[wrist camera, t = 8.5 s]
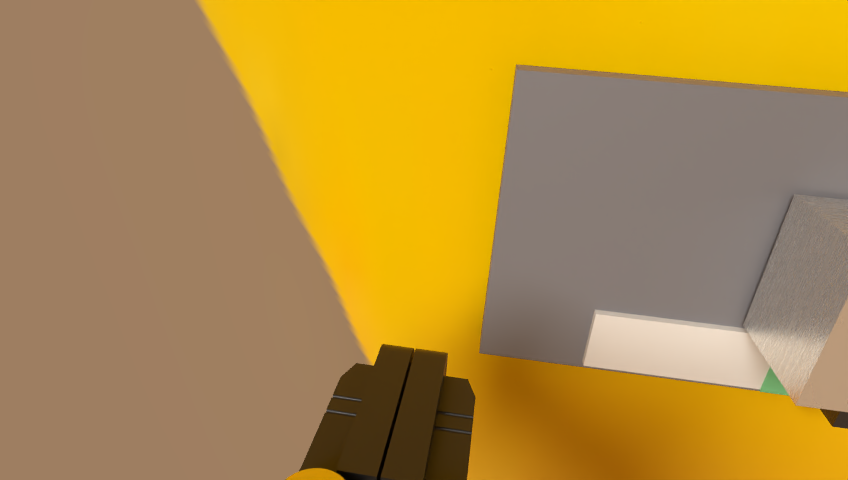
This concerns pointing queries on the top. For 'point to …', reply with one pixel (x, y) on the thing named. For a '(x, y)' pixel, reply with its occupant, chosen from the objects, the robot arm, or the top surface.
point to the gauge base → (650, 218)
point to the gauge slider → (807, 306)
